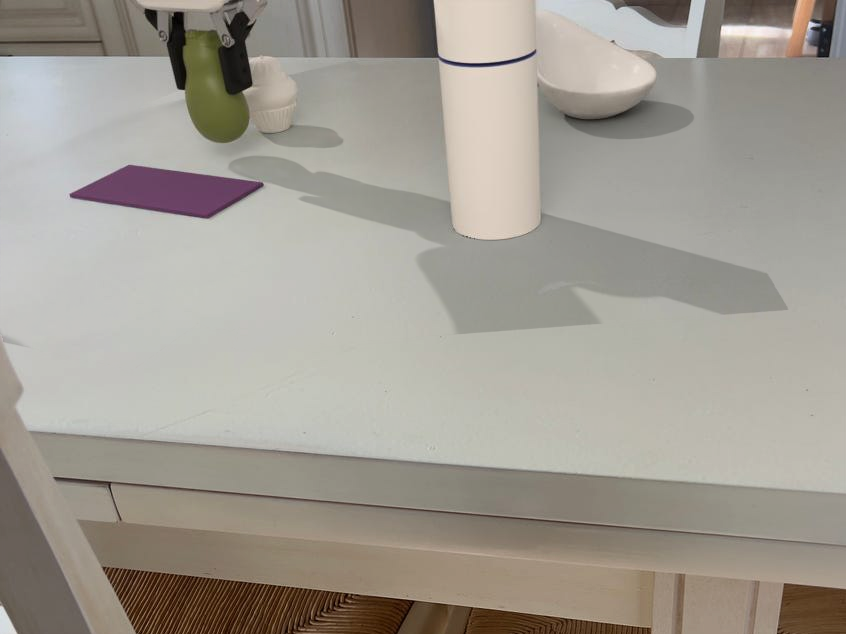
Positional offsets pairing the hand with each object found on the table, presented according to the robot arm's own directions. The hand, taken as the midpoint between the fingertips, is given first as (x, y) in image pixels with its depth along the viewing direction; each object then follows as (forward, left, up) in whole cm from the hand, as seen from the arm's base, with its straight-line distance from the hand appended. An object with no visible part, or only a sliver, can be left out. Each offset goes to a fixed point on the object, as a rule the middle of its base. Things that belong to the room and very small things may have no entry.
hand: (214, 86), depth 94 cm
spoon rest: (+24, +26, -7) cm, 36 cm away
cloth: (0, -9, -6) cm, 11 cm away
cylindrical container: (+32, -6, -7) cm, 33 cm away
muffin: (-1, +9, -7) cm, 11 cm away
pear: (0, 0, -5) cm, 5 cm away
